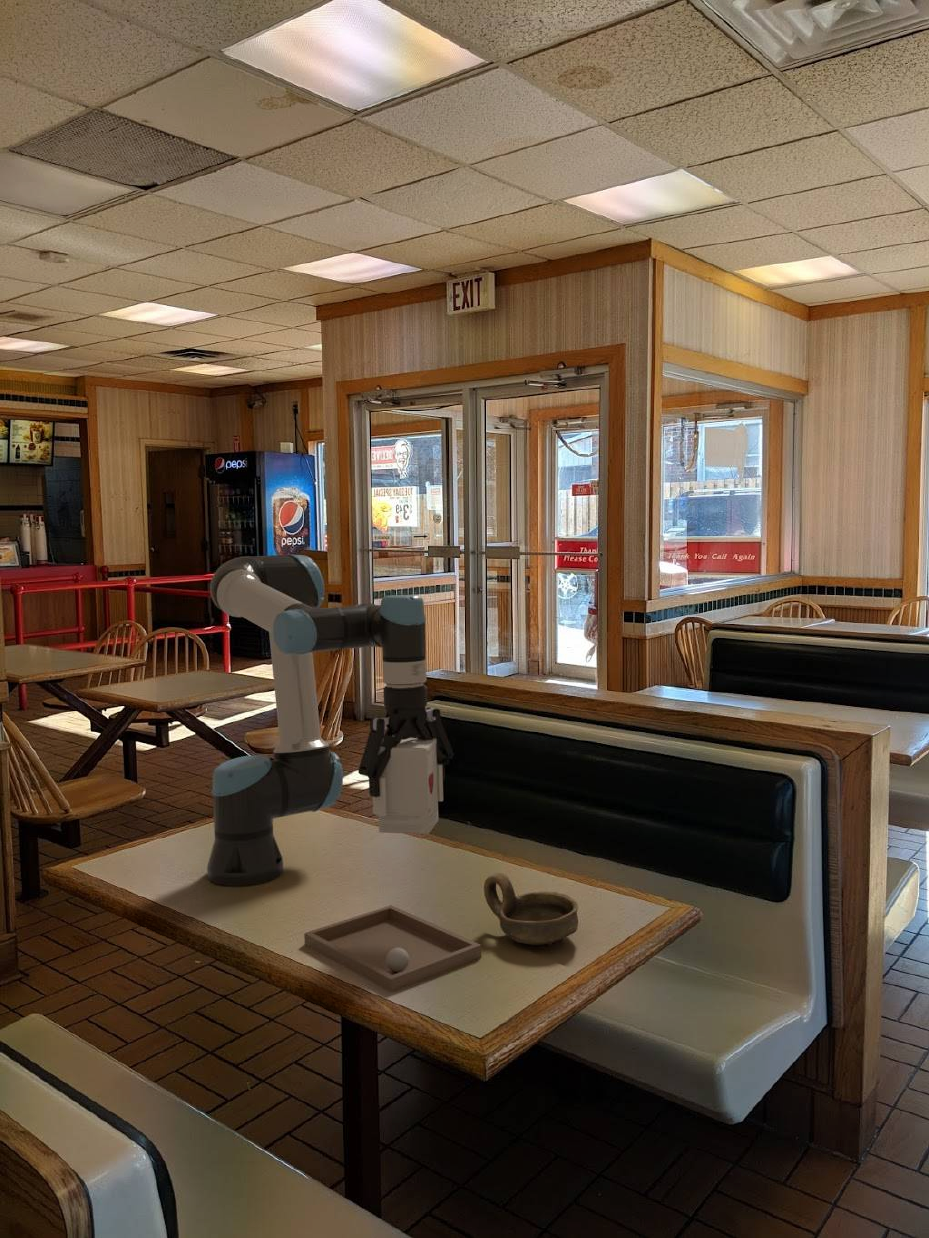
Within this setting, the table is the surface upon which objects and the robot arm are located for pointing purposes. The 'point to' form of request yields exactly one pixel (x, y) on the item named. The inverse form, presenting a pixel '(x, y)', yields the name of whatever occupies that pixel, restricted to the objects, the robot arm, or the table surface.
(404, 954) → the ball
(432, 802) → the supplement box
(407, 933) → the tray
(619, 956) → the table surface
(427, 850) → the table surface
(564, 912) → the bowl
